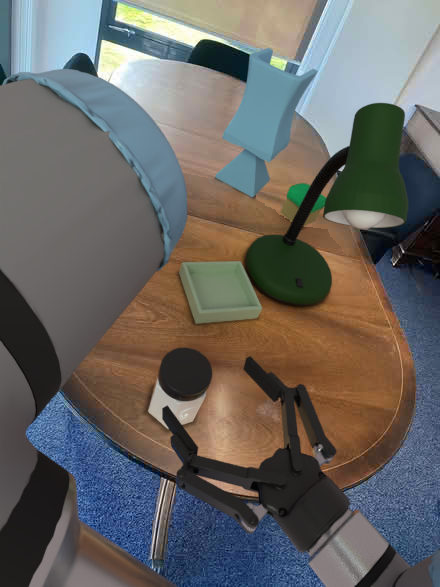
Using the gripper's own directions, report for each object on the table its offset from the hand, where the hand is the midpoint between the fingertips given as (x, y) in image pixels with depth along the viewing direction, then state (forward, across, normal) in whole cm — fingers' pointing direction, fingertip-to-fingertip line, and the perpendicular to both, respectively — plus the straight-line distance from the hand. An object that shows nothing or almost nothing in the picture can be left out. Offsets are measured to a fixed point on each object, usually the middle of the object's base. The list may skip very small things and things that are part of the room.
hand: (208, 385), depth 52 cm
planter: (+62, +62, -14) cm, 89 cm away
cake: (+42, +67, -18) cm, 81 cm away
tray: (+25, +23, -16) cm, 38 cm away
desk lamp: (+21, +42, -19) cm, 51 cm away
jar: (+8, 0, -16) cm, 18 cm away
